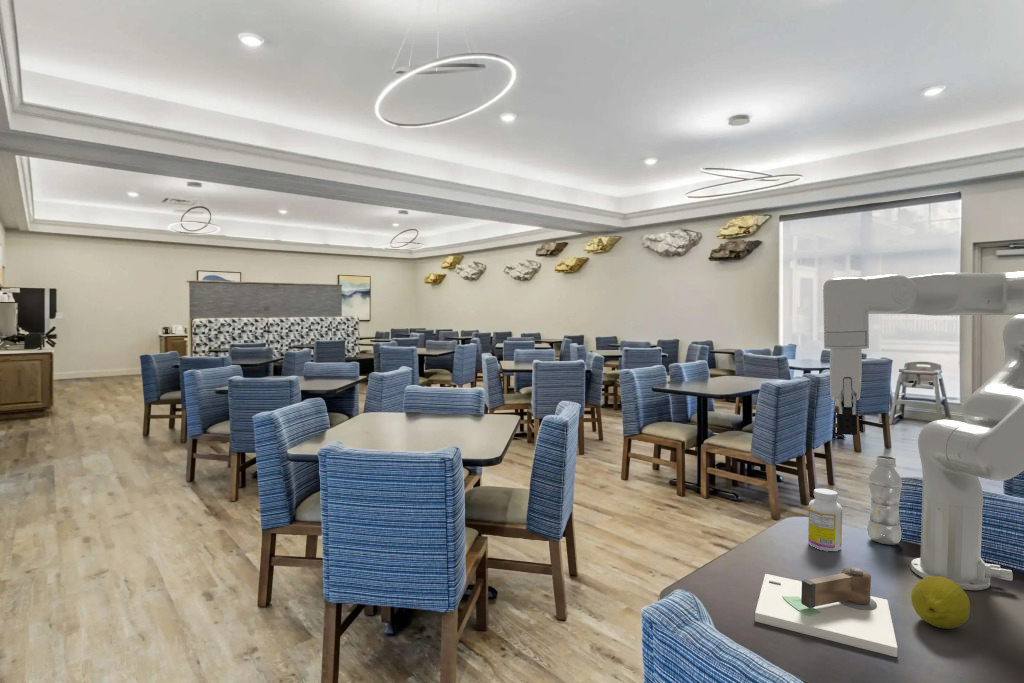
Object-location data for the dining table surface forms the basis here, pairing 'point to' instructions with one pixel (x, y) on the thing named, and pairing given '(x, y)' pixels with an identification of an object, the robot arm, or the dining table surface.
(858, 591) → the walnut dial lever
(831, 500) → the supplement bottle
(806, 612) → the dial plate
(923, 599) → the lemon
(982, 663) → the dining table surface
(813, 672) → the dining table surface
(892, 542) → the plastic bottle
